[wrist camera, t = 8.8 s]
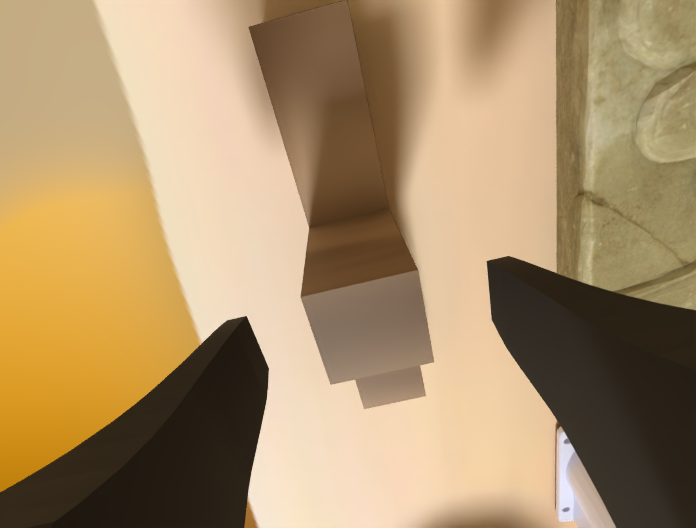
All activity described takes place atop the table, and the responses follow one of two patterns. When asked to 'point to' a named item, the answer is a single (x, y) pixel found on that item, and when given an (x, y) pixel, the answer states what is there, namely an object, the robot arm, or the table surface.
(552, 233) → the table surface
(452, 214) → the table surface
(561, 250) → the decorative tile
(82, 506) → the robot arm
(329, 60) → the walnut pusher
